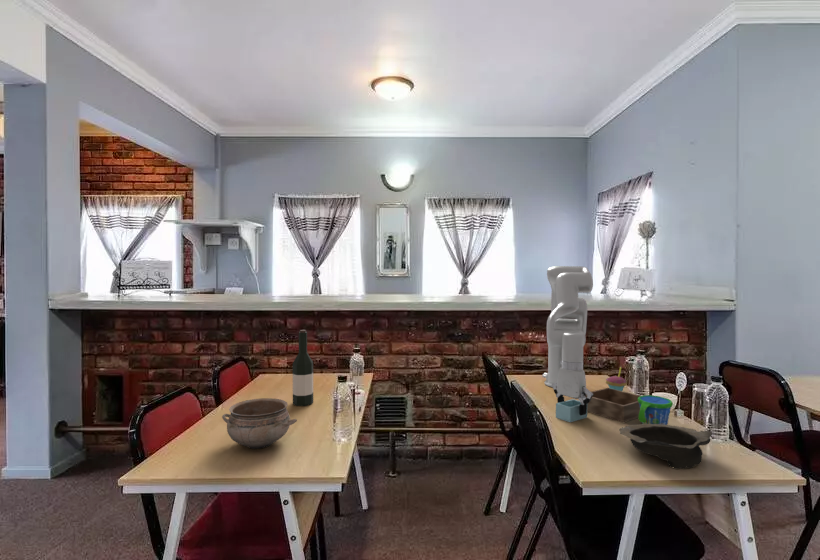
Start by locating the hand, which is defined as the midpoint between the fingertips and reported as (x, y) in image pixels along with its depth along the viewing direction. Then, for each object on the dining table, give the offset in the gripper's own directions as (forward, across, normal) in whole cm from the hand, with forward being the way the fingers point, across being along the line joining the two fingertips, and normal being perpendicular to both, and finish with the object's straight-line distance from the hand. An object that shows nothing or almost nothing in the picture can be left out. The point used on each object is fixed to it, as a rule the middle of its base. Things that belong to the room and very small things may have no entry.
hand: (571, 411), depth 171 cm
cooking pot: (+3, -37, -105) cm, 111 cm away
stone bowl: (+3, +37, -6) cm, 37 cm away
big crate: (+2, +5, +20) cm, 21 cm away
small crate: (+3, 0, 0) cm, 3 cm away
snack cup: (+3, +23, +15) cm, 28 cm away
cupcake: (+2, -11, +46) cm, 48 cm away
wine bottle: (+3, -71, -78) cm, 105 cm away
